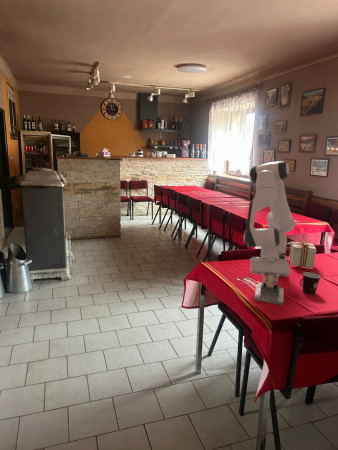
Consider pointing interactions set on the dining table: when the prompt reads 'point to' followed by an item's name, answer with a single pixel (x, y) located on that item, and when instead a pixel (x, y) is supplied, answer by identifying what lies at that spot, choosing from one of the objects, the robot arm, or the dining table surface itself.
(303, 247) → the gift box
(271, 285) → the disc
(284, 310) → the dining table surface
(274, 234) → the robot arm
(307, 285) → the coffee mug
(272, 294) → the grey block with recess
